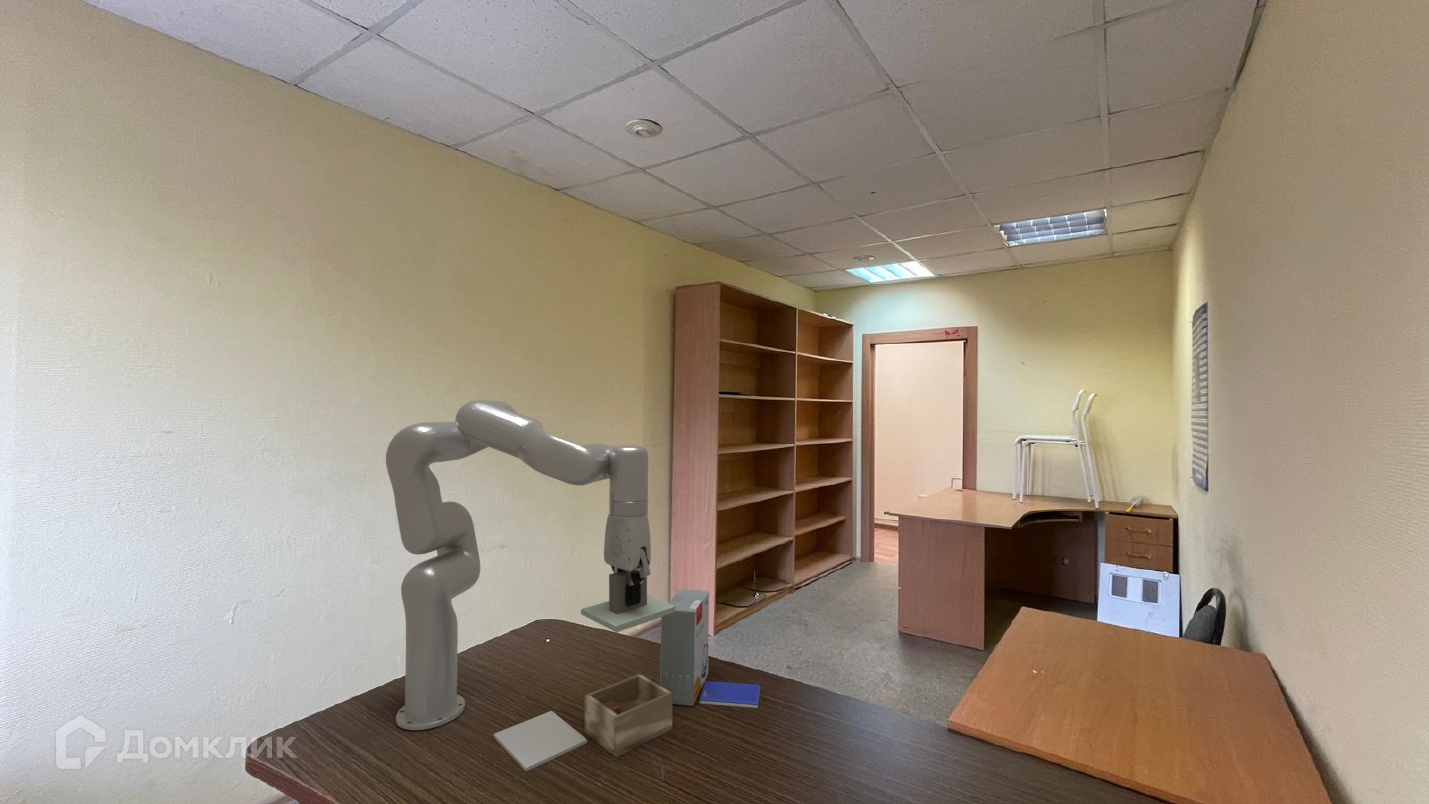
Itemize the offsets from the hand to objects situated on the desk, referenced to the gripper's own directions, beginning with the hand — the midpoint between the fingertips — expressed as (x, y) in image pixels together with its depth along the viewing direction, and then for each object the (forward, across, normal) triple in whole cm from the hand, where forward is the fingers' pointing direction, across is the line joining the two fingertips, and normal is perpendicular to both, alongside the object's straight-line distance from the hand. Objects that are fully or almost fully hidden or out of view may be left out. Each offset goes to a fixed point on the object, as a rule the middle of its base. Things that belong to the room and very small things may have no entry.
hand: (627, 601), depth 108 cm
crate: (+25, 0, 0) cm, 25 cm away
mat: (+25, -9, -14) cm, 30 cm away
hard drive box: (+25, -5, +19) cm, 32 cm away
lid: (+3, 0, 0) cm, 3 cm away
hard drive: (+26, +5, +24) cm, 36 cm away
